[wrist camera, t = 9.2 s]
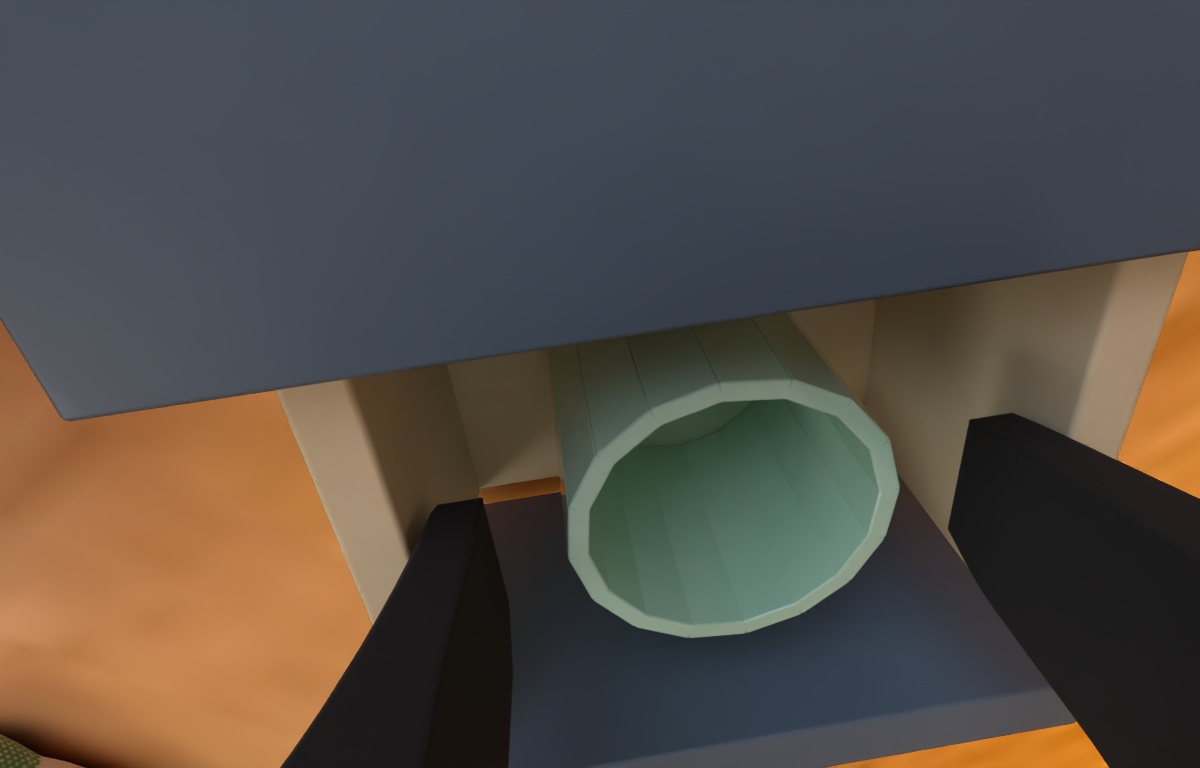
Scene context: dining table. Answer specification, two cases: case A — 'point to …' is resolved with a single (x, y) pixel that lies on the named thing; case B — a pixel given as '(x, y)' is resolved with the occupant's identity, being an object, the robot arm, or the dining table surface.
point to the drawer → (796, 645)
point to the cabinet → (551, 172)
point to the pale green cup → (716, 475)
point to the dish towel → (26, 757)
